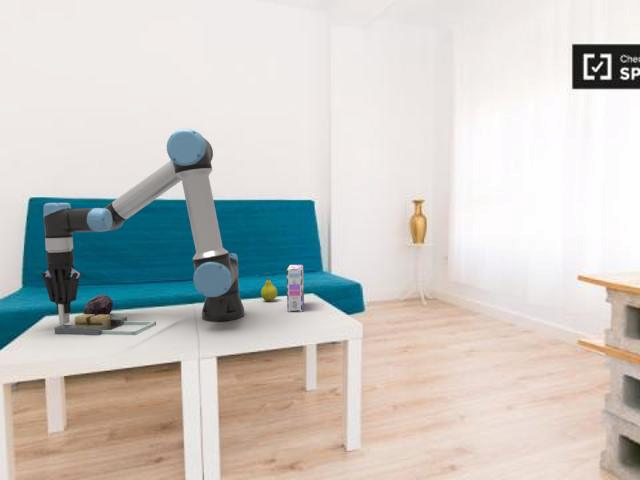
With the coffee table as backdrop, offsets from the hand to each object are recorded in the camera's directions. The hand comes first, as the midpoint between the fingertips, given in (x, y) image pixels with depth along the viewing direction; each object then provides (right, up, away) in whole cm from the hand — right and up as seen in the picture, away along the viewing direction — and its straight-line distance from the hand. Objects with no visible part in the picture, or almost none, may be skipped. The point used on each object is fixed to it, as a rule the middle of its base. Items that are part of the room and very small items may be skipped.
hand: (64, 323), depth 135 cm
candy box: (+74, 0, +28) cm, 79 cm away
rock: (+4, -2, +15) cm, 15 cm away
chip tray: (+23, -3, -3) cm, 23 cm away
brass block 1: (+7, -1, -1) cm, 8 cm away
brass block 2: (+13, -1, -2) cm, 13 cm away
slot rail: (+10, -3, -1) cm, 10 cm away
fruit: (+62, +1, +42) cm, 74 cm away
